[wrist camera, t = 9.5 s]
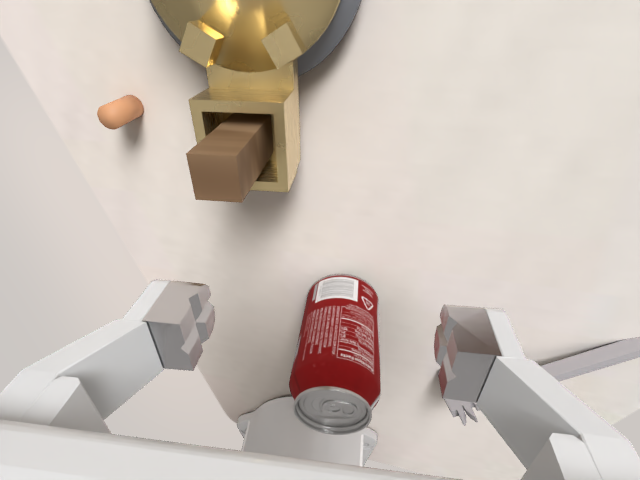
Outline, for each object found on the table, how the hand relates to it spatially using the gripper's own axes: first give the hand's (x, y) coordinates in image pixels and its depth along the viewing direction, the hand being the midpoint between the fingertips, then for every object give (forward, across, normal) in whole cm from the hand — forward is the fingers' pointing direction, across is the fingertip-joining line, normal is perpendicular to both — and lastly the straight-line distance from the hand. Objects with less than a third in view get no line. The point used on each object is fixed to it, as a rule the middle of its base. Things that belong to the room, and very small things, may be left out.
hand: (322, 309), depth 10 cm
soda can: (+19, 0, +17) cm, 26 cm away
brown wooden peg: (+15, +6, 0) cm, 16 cm away
